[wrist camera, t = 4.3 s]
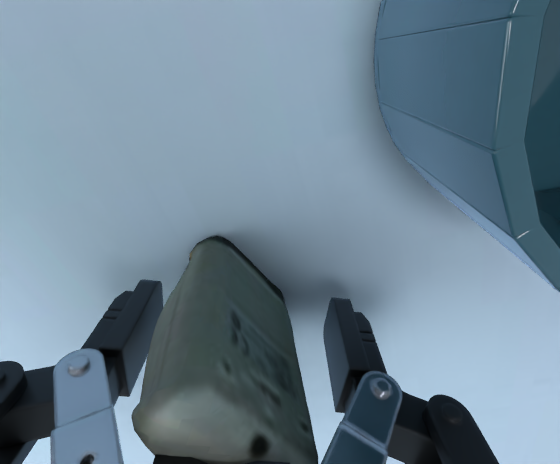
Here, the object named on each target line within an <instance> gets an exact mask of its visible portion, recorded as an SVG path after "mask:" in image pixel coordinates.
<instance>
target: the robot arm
mask: <svg viewBox="0 0 560 464" xmlns="http://www.w3.org/2000/svg"><path fill="white" fill-rule="evenodd" d="M162 309H163V294H162V283H161V281H153V280H140V282H139V283H138V285H137V286H136V288H135V290H134V291H125V292H123V293H122V294H121V295H119V296H118V297H117V298H115V299H114V301H113V302H112V304H111V305H110V307H109V308H108V311H106V313H105V314H104V315H103V318H102V319H101V320H100V321H99V323H98V324H97V326H96V327H95V329H94V330H93V332H92V333H91V335H90V336H89V338H88V339H87V341H86V342H85V343H84V345H83V346H82V348H81V349H80V350H76V351H73V352H71V353H69V354H68V355H66V356H65V357H63V358H62V359H61V360H60V361H59V362H58V363H57V364H56V365H55V366H51V367H46V368H41V369H35V370H30V371H24V370H23V367H22V366H21V364H19V363H17V362H14V361H3V362H0V464H22V463H23V461H24V460H25V458H26V457H27V455H28V454H29V452H30V451H31V449H32V448H33V446H34V445H35V443H36V442H37V440H38V439H42V438H46V437H50V436H51V464H124V461H123V456H122V451H121V445H120V440H119V434H118V429H117V424H116V418H115V413H114V405H115V403H116V401H117V399H118V396H127V397H129V396H130V394H131V391H132V389H133V387H134V385H135V382H136V380H137V378H138V376H139V373H140V371H141V369H142V366H143V364H144V362H145V360H146V357H147V355H148V353H149V348H150V344H151V340H152V337H153V333H154V330H155V327H156V323H157V320H158V318H159V316H160V314H161V312H162ZM323 335H324V344H325V350H326V356H327V362H328V369H329V375H330V381H331V387H332V393H333V400H334V406H335V412H341V413H345V416H344V418H343V420H342V422H340V424H339V426H338V428H337V430H336V432H335V434H334V436H333V439H332V441H331V443H330V445H329V447H328V449H327V452H326V454H325V456H324V458H323V460H322V463H321V464H386V460H387V457H388V456H389V457H392V458H394V459H397V460H399V461H401V462H404V463H405V464H499V463H498V461H497V459H496V457H495V456H494V454H493V452H492V450H491V449H490V447H489V445H488V443H487V442H486V440H485V438H484V436H483V435H482V433H481V431H480V429H479V428H478V426H477V424H476V423H475V421H474V419H473V417H472V416H471V414H470V412H469V411H468V410H467V409H466V408H465V407H464V406H463V405H462V404H461V403H460V402H458V401H457V400H455V399H454V398H452V397H449V396H446V395H434V396H433V397H431V398H430V400H429V402H428V401H425V400H423V399H420V398H417V397H414V396H412V395H409V394H407V393H405V392H403V391H402V390H401V388H400V386H399V385H398V383H397V382H396V381H395V380H394V379H393V378H392V377H390V376H389V375H387V372H386V369H385V366H384V363H383V360H382V357H381V355H380V352H379V349H378V346H377V343H376V342H375V341H376V340H375V337H374V334H373V331H372V328H371V325H370V323H369V321H368V320H367V319H366V317H365V316H364V315H363V314H362V313H361V312H354V311H353V308H352V304H351V301H350V299H343V298H331V300H330V303H329V307H328V312H327V316H326V320H325V324H324V334H323ZM153 464H208V463H206V462H203V461H200V460H198V459H195V458H192V457H181V456H168V455H158V454H156V455H155V458H154V462H153ZM245 464H290V462H273V461H254V462H249V463H245Z"/></svg>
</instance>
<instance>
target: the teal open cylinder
mask: <svg viewBox="0 0 560 464" xmlns="http://www.w3.org/2000/svg"><path fill="white" fill-rule="evenodd" d="M374 73H375V87H376V92H377V97H378V102H379V107H380V111H381V114H382V117H383V119H384V122H385V125H386V128H387V130H388V132H389V134H390V136H391V138H392V140H393V142H394V144H395V146H396V147H397V148H398V150H399V151H400V152H401V154H402V155H403V157H404V158H405V159H406V161H407V162H408V163H409V164H410V165H411V166H412V167H413V168H414V169H415V170H416V171H417V172H418V173H420V174H421V176H422V177H423V178H424V179H425V180H426V181H427V182H428V183H429V184H430V185H431V186H433V187H434V188H435V189H436V190H437V191H439V192H440V193H441V194H442V195H443V196H445V197H446V198H447V199H448V200H449V201H450V202H452V203H453V204H454V205H455V206H456V207H458V208H459V209H460V210H461V211H462V212H464V213H465V214H466V215H467V216H468V217H470V218H471V219H472V220H473V221H474V222H476V223H477V224H478V225H479V226H480V227H482V228H483V229H484V230H485V231H486V232H488V233H489V234H490V235H491V236H492V237H493V238H495V239H496V240H497V241H498V242H499V243H501V244H502V245H503V246H504V247H505V248H507V249H508V250H509V251H510V252H511V253H513V254H514V255H515V256H516V257H517V258H519V259H520V260H521V261H522V262H523V263H525V264H526V265H527V266H528V267H529V268H530V269H532V270H533V271H534V272H535V273H536V274H538V275H539V276H540V277H541V278H542V279H544V280H545V281H546V282H547V283H548V284H550V285H551V286H552V287H553V288H554V289H556V290H557V291H558V292H560V0H382V1H381V5H380V9H379V15H378V21H377V27H376V33H375V48H374Z"/></svg>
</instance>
